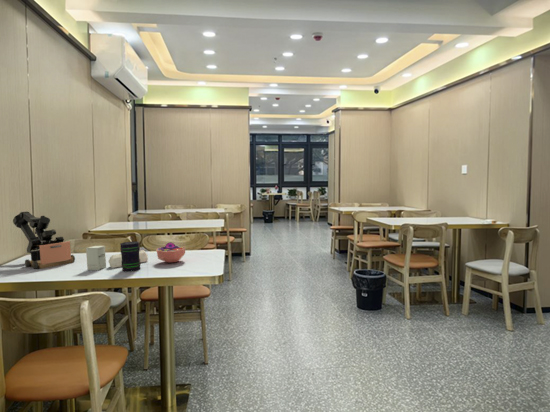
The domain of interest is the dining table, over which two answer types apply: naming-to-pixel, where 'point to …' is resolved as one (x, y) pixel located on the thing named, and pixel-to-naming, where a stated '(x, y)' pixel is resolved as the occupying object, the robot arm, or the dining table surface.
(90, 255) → the supplement box
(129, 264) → the storage jar
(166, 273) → the dining table surface
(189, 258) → the dining table surface
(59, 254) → the panel
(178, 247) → the cell model
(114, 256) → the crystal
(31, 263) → the cart bed
